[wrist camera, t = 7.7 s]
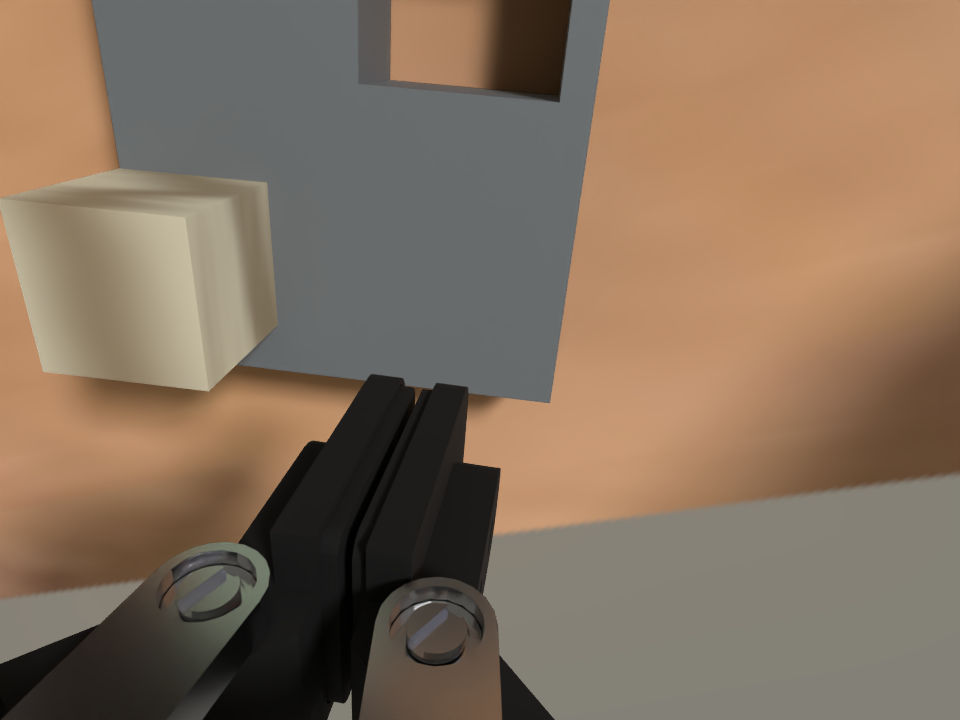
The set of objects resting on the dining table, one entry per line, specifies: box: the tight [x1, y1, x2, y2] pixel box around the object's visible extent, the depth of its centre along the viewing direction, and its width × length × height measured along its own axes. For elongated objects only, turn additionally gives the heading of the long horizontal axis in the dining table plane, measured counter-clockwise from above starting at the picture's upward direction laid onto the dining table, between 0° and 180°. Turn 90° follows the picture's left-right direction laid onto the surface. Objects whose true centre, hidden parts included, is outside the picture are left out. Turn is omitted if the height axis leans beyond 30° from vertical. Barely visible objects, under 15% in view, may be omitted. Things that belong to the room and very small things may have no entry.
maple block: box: [0, 168, 278, 391], centre depth 19 cm, size 5×5×5 cm
